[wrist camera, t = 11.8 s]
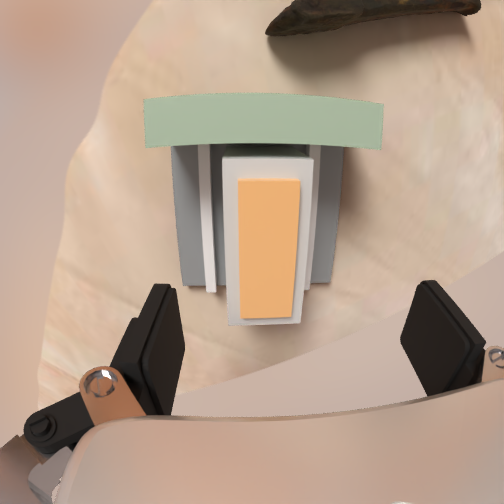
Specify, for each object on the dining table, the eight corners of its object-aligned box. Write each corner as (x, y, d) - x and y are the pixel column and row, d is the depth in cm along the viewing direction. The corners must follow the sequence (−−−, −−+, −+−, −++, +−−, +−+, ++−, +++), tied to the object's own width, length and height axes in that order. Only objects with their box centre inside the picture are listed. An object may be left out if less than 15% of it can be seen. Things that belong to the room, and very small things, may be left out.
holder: (292, 147, 20) (316, 161, 14) (287, 276, 24) (301, 329, 18) (226, 146, 20) (221, 160, 14) (229, 277, 24) (228, 331, 18)
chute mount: (341, 105, 20) (383, 104, 13) (327, 276, 26) (352, 327, 19) (172, 103, 19) (143, 99, 13) (184, 279, 25) (170, 334, 19)
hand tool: (444, -19, 14) (473, -32, 10) (462, 17, 16) (493, 10, 11) (250, 6, 16) (253, -18, 12) (272, 50, 18) (280, 34, 14)
